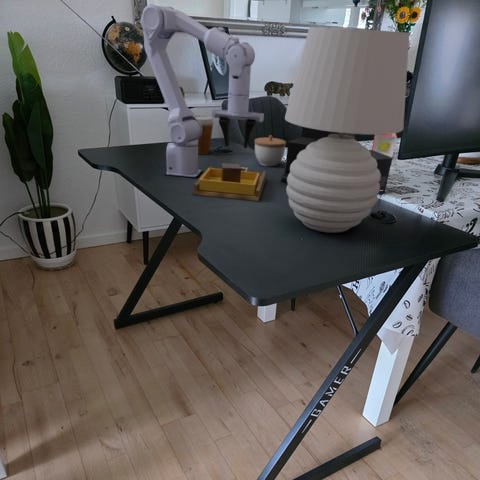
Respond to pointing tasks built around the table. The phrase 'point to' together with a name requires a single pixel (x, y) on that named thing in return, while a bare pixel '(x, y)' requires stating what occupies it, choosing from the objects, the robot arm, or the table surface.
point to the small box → (382, 168)
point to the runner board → (232, 195)
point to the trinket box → (269, 150)
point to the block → (230, 172)
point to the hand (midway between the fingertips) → (236, 146)
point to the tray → (214, 183)
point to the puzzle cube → (384, 143)
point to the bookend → (302, 145)
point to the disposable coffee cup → (205, 133)
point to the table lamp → (344, 121)
